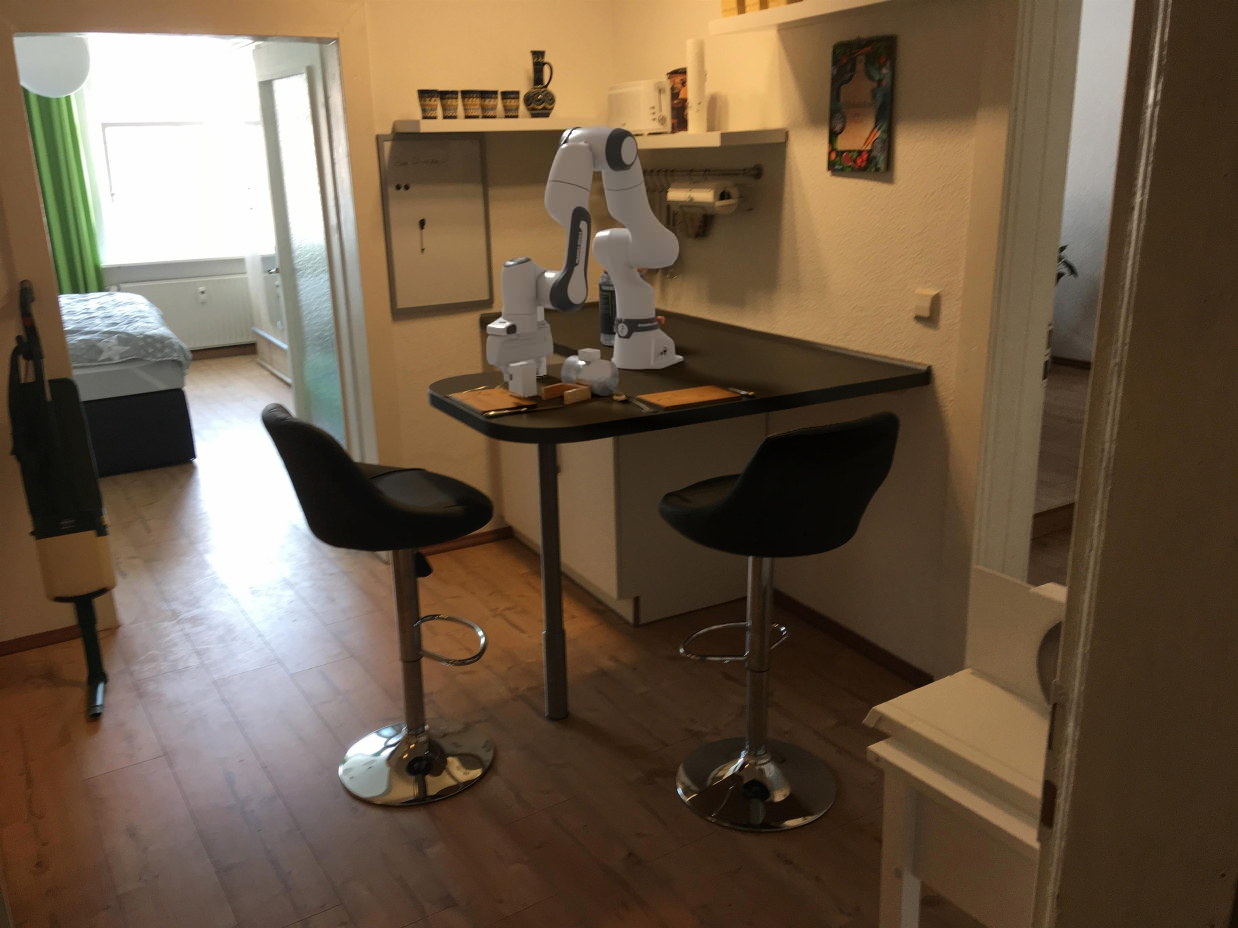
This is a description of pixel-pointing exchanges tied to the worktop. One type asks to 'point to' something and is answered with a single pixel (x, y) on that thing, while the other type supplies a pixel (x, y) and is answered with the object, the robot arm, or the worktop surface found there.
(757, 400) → the worktop surface
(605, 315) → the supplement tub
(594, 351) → the motor mount
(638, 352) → the robot arm
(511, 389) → the block
